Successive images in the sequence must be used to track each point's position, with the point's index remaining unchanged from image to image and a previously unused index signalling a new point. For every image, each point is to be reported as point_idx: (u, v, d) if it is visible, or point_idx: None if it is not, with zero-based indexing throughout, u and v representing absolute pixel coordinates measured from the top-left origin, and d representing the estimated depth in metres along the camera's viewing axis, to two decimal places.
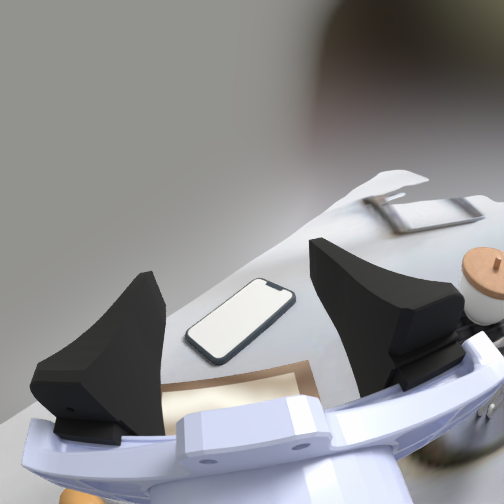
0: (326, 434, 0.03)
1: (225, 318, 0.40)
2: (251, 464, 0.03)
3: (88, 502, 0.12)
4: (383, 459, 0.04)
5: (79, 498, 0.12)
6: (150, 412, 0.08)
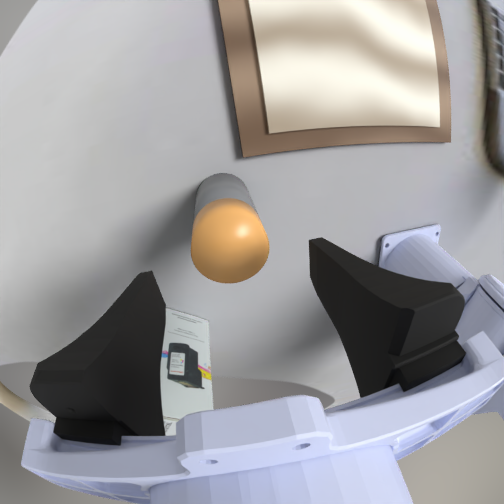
0: (326, 434, 0.03)
1: None
2: (251, 464, 0.03)
3: (256, 233, 0.14)
4: (383, 459, 0.04)
5: (235, 234, 0.14)
6: (150, 412, 0.08)
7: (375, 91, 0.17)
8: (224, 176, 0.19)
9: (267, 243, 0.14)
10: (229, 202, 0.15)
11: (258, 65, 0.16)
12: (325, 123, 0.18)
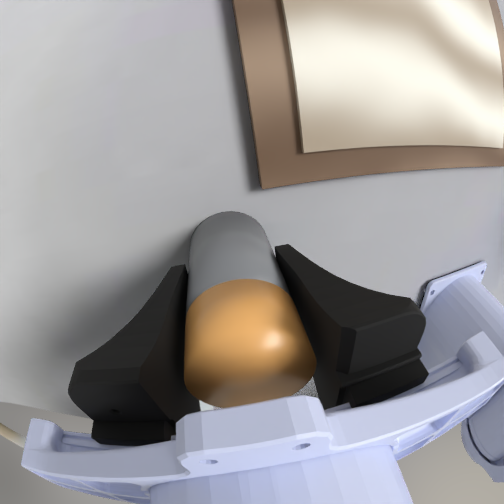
0: (326, 434, 0.03)
1: None
2: (251, 464, 0.03)
3: (297, 355, 0.08)
4: (383, 459, 0.04)
5: (262, 359, 0.07)
6: (192, 409, 0.08)
7: (443, 98, 0.11)
8: (232, 219, 0.13)
9: (314, 363, 0.08)
10: (247, 293, 0.08)
11: (288, 44, 0.09)
12: (383, 139, 0.12)
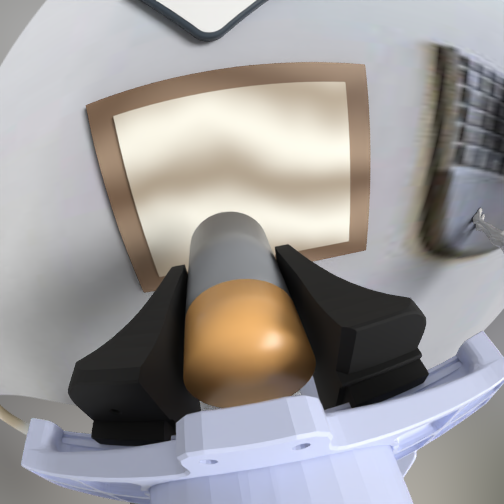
0: (326, 434, 0.03)
1: None
2: (251, 464, 0.03)
3: (297, 355, 0.08)
4: (383, 459, 0.04)
5: (262, 359, 0.07)
6: (192, 409, 0.08)
7: (261, 225, 0.21)
8: (233, 219, 0.13)
9: (313, 364, 0.08)
10: (248, 294, 0.08)
11: (141, 219, 0.20)
12: None
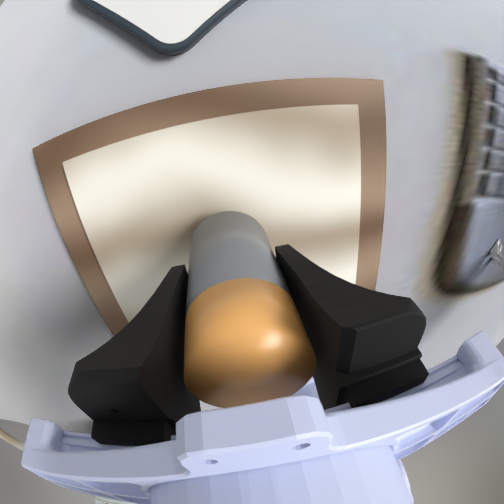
0: (326, 434, 0.03)
1: None
2: (251, 464, 0.03)
3: (297, 355, 0.08)
4: (383, 459, 0.04)
5: (263, 358, 0.07)
6: (192, 409, 0.08)
7: None
8: (233, 218, 0.13)
9: (314, 364, 0.08)
10: (248, 292, 0.08)
11: (109, 280, 0.16)
12: None
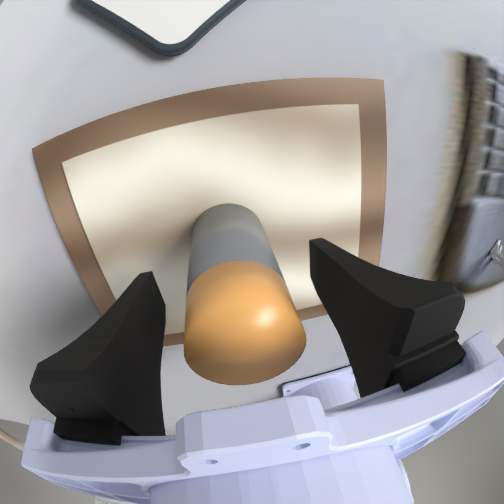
0: (326, 434, 0.03)
1: None
2: (251, 464, 0.03)
3: (288, 329, 0.08)
4: (383, 459, 0.04)
5: (256, 331, 0.08)
6: (150, 412, 0.08)
7: None
8: (231, 210, 0.14)
9: (303, 339, 0.09)
10: (243, 273, 0.09)
11: (109, 280, 0.16)
12: None
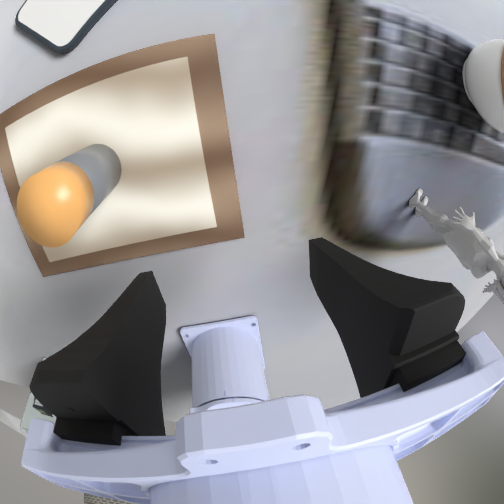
0: (326, 434, 0.03)
1: None
2: (251, 464, 0.03)
3: (61, 192, 0.11)
4: (383, 459, 0.04)
5: (45, 193, 0.10)
6: (150, 412, 0.08)
7: (118, 212, 0.20)
8: (91, 146, 0.16)
9: (73, 202, 0.11)
10: (54, 164, 0.11)
11: None
12: (82, 250, 0.21)
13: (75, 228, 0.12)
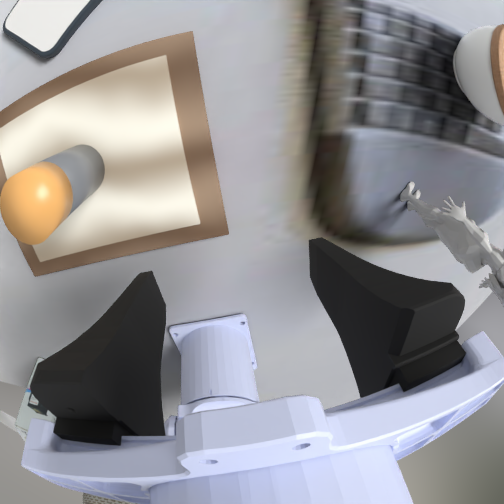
0: (326, 434, 0.03)
1: None
2: (251, 464, 0.03)
3: (39, 190, 0.10)
4: (383, 459, 0.04)
5: (25, 192, 0.10)
6: (150, 412, 0.08)
7: (103, 211, 0.19)
8: (75, 146, 0.16)
9: (50, 200, 0.11)
10: (34, 165, 0.11)
11: None
12: (70, 250, 0.21)
13: (52, 225, 0.11)
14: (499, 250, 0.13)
